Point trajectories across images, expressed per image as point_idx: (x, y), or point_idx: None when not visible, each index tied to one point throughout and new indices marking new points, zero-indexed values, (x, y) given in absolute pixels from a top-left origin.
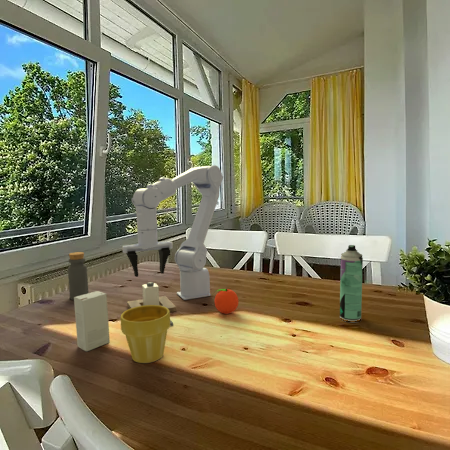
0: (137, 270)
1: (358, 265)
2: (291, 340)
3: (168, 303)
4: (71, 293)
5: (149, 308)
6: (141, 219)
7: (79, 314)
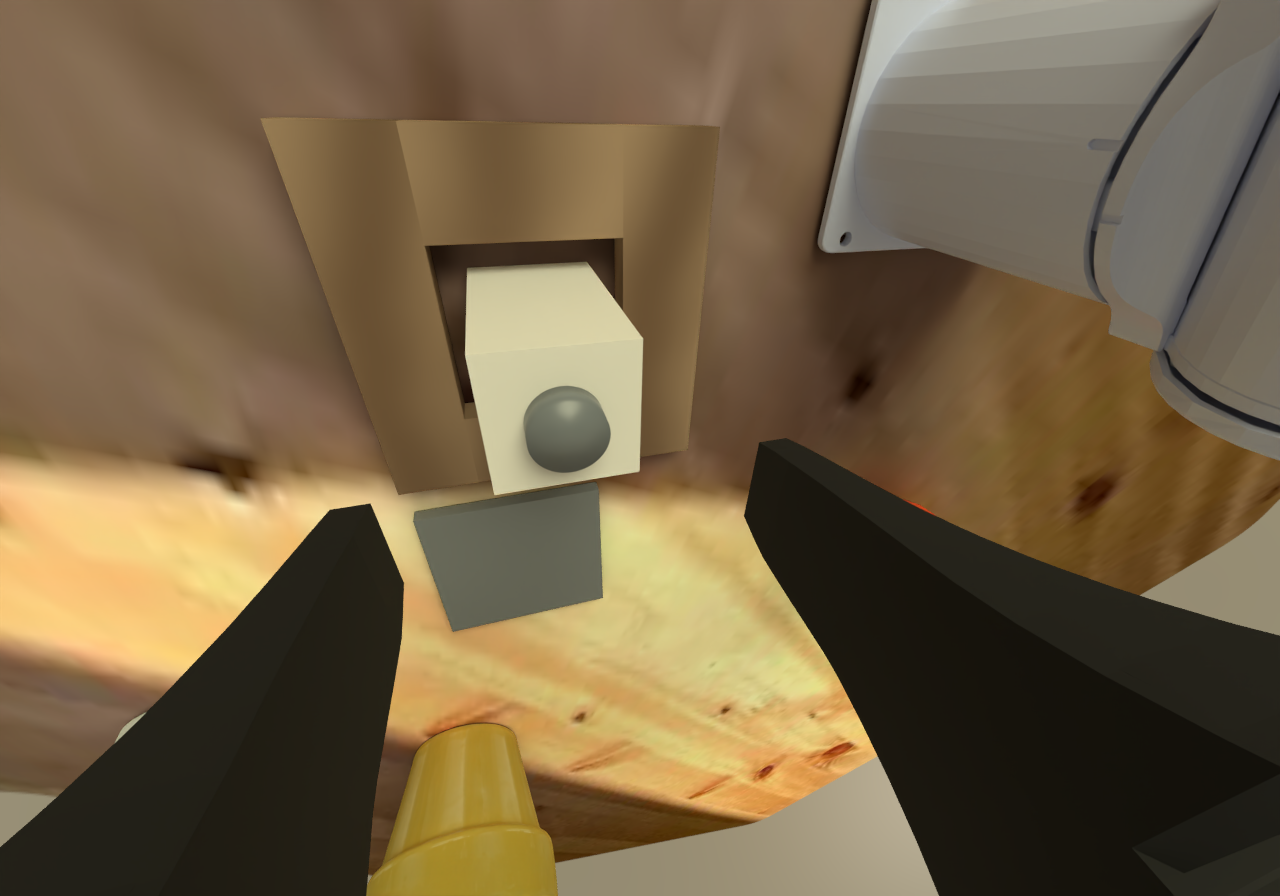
0: (382, 699)
1: None
2: (832, 683)
3: (668, 368)
4: None
5: (484, 889)
6: None
7: None
